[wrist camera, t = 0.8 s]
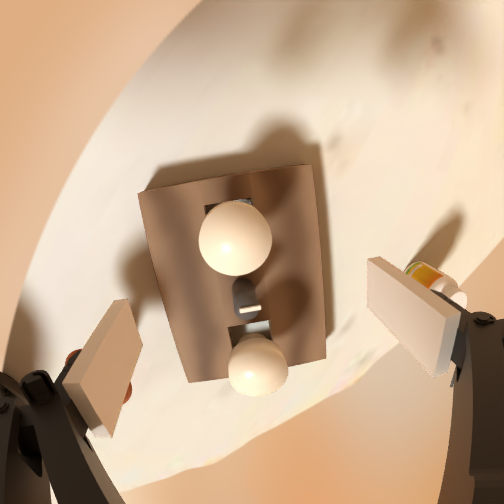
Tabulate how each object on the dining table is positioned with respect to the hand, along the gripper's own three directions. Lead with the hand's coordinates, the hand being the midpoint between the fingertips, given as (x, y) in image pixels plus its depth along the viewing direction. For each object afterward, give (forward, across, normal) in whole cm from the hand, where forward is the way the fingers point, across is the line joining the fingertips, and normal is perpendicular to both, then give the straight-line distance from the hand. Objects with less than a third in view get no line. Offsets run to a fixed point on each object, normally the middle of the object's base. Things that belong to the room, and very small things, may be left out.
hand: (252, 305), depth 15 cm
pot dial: (+18, 0, -7) cm, 19 cm away
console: (+21, 0, -7) cm, 22 cm away
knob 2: (+17, 0, -14) cm, 21 cm away
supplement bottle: (+21, +24, -12) cm, 34 cm away
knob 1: (+17, 0, 0) cm, 17 cm away
